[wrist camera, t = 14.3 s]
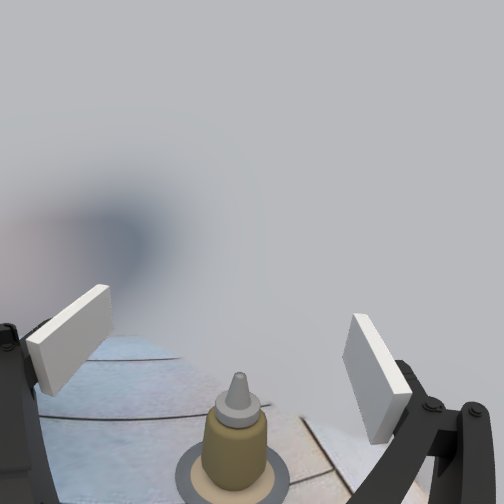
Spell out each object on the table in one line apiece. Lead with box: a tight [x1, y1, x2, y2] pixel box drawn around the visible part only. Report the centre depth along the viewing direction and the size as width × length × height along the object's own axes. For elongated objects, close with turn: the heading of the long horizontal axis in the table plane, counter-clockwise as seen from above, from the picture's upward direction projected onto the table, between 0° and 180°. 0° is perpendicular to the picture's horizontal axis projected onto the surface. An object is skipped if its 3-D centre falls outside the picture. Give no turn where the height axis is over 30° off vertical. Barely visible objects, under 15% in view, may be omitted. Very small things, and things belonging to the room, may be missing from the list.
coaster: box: [175, 441, 290, 504], centre depth 33 cm, size 15×15×1 cm
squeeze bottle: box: [201, 372, 267, 491], centre depth 31 cm, size 8×8×18 cm
